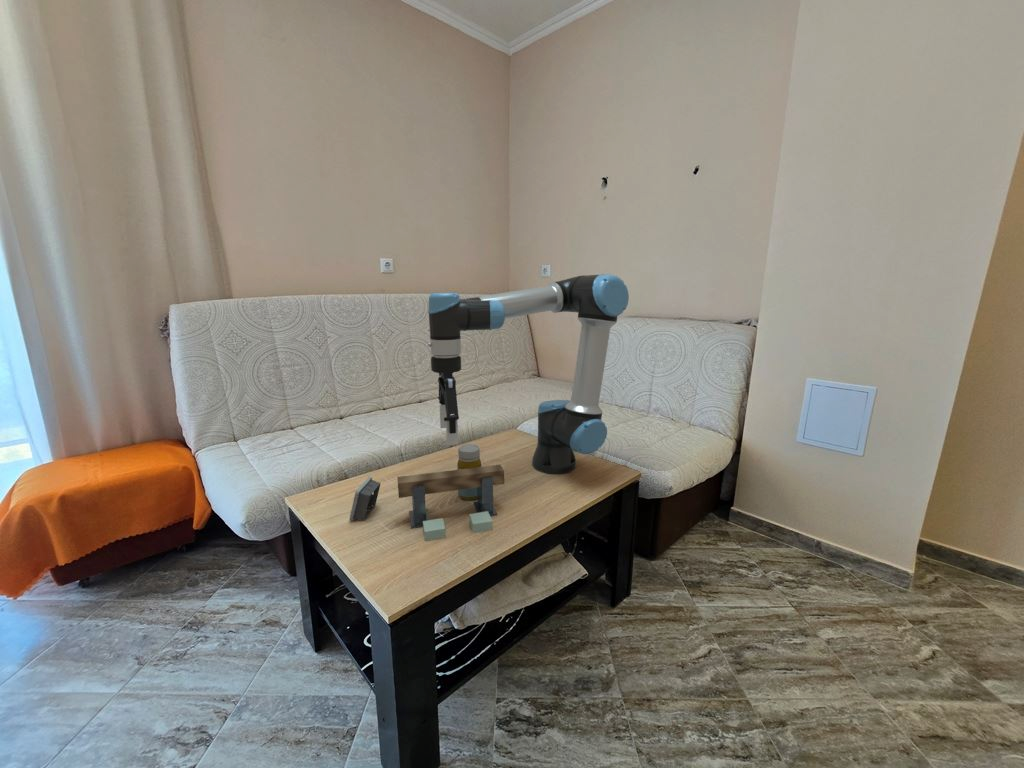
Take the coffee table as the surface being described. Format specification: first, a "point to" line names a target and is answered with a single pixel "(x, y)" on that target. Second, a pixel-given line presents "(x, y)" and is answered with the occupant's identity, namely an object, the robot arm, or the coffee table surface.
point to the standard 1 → (418, 507)
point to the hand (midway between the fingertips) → (448, 435)
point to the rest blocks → (437, 528)
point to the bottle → (468, 459)
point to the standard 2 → (485, 497)
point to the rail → (450, 480)
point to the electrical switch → (365, 499)
